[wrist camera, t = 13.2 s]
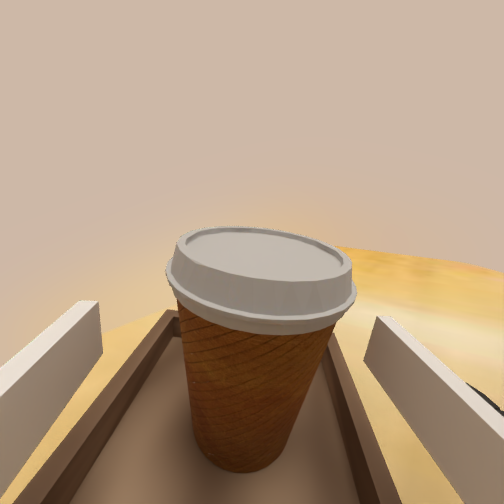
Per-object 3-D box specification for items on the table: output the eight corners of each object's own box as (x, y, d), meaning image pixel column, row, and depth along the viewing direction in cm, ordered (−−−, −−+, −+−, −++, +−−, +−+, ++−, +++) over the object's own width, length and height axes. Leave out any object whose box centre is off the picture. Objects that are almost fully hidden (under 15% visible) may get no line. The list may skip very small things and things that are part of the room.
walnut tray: (327, 358, 24) (334, 332, 23) (427, 685, 8) (458, 646, 8) (167, 335, 24) (167, 309, 24) (-9, 599, 9) (-27, 553, 8)
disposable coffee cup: (142, 404, 16) (135, 229, 13) (249, 349, 23) (265, 221, 19) (224, 578, 10) (260, 319, 6) (343, 432, 16) (396, 261, 12)
